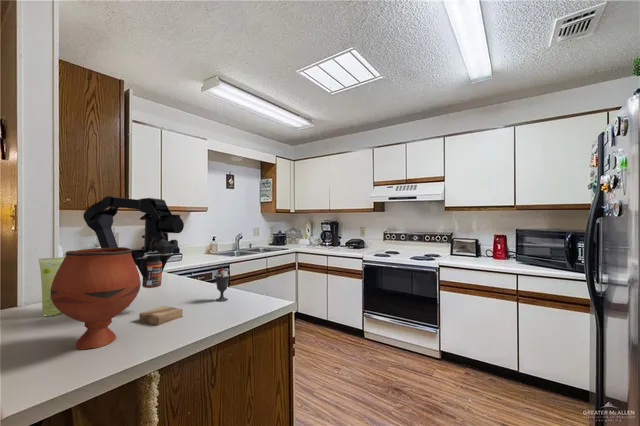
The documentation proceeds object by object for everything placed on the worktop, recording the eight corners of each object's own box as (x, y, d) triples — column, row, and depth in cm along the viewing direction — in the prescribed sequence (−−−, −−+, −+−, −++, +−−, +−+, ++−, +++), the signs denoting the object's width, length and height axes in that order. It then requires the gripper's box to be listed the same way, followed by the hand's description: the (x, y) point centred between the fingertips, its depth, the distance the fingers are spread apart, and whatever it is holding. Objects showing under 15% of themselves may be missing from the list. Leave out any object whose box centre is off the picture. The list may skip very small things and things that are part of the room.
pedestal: (139, 320, 91) (139, 312, 91) (163, 312, 100) (164, 305, 100) (158, 325, 88) (158, 316, 88) (182, 316, 96) (182, 308, 96)
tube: (49, 317, 92) (52, 258, 93) (35, 317, 93) (38, 258, 93) (66, 312, 98) (69, 256, 99) (53, 311, 98) (55, 256, 99)
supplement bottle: (152, 289, 98) (153, 256, 98) (138, 287, 99) (139, 256, 100) (165, 285, 104) (166, 254, 104) (151, 284, 105) (152, 254, 105)
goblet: (126, 323, 89) (129, 245, 90) (149, 340, 77) (152, 250, 77) (41, 343, 74) (46, 248, 75) (53, 368, 62) (59, 255, 63)
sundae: (210, 301, 114) (211, 264, 114) (218, 297, 121) (219, 262, 121) (225, 302, 113) (226, 265, 113) (232, 298, 119) (233, 263, 120)
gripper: (144, 234, 90) (142, 282, 90) (190, 232, 108) (189, 273, 107) (121, 233, 95) (120, 279, 94) (170, 231, 112) (168, 270, 111)
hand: (152, 275), depth 102 cm, fingers closed on supplement bottle, 6 cm apart
